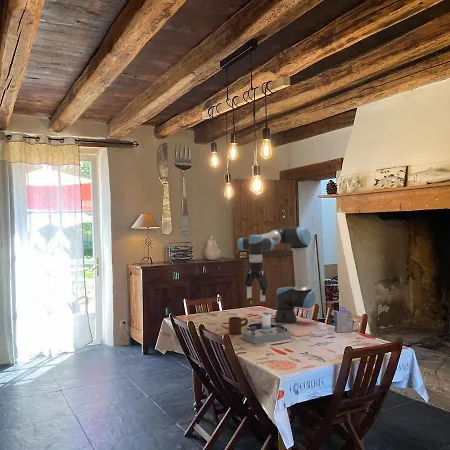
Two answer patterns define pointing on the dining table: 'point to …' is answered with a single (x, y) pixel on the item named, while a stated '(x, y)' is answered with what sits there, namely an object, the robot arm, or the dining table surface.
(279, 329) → the plunger far
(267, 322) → the cylinder
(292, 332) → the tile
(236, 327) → the mug
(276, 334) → the housing
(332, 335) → the dining table surface
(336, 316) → the ink cartridge box
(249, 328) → the plunger near
